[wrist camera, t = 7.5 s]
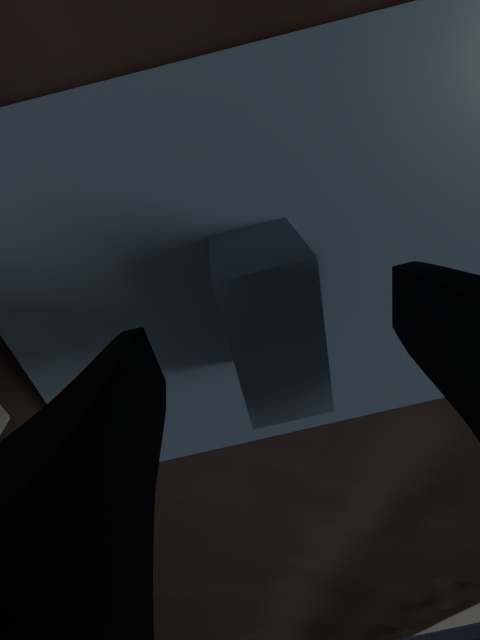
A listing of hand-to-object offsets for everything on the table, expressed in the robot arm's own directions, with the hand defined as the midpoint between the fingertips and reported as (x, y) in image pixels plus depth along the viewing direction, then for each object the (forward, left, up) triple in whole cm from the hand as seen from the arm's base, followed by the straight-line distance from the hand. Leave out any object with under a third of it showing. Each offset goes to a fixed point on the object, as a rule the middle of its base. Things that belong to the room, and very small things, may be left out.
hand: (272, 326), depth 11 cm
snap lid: (0, 0, -3) cm, 3 cm away
